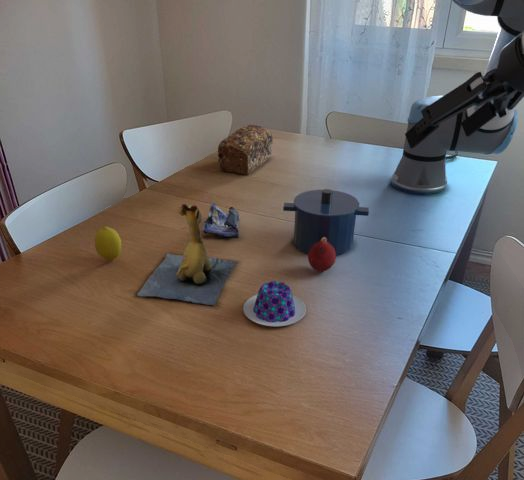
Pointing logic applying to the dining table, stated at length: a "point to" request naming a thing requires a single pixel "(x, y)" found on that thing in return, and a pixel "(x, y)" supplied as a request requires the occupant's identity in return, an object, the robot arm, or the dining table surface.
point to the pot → (324, 229)
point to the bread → (245, 149)
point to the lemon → (108, 243)
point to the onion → (322, 255)
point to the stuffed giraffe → (189, 269)
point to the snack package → (222, 222)
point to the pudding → (274, 305)
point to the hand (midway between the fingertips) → (437, 135)
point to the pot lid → (326, 203)
